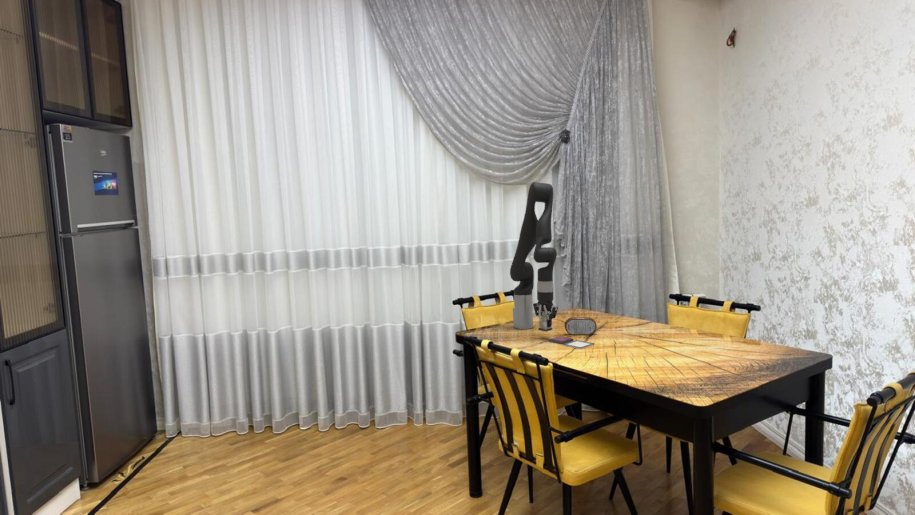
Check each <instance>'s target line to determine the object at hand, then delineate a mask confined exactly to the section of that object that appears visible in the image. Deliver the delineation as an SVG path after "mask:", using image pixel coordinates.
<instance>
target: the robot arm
mask: <svg viewBox="0 0 915 515" xmlns="http://www.w3.org/2000/svg"><path fill="white" fill-rule="evenodd" d="M536 203H542V204H544V208H543V212H542V213H541V215H540V217H539V218H538V216H537V214H536V211H535V209H536ZM553 205H554V186H553V185H552V184H550V183H547V182H546V183H544V182H537V181H534V182H532V183H531V184H530V185H529V188H528V192H527V199H526V206H525V211H524V215H523V221H522V224H521V226H520V227H521V229H520V232H519V239H518V243H517V245H516V246H517V247H516V250H515V253H514V256H513V260H512V261H511V265H510V268H509V276H510V279H511V280H512V281H514V282H519V284H518V285H517V286H516V287H515V288H514V289H513V301H514V302H513V303H514V307H513V308H512V320H513V321H512V323H513V325H512V326H513V328H515V329H519V330H527V329H528V330H529V329H533V328H534V314H535V316H536V317H538V318H539V316H540V315H542V312H543V311H544V312H545V314H546V315H547V327H552V326H553V321H552V320H553V319H556V316H557V313H558V310H559V306H556V305H554V303H553V301H554V278H553V277H554V268H555V263H556V259H557V256H558V254H557V250H556V249H555V248H554V247H543V246H544V245H548V244H550V243H552V240H553V235H552V234H553V233H552V216H553ZM533 249H534V252H533V256H532V257H533V260H534V261H535V263H538V264H539V263H542V264H545V263H548V264H547V265H546V266H544V267H539V268H538V269H537V283H536V284H537V285H536V299H537V302H533V289H534V285H535V283H534V282H535V281H534V280H535V270H534V267H533V265H532V263H530V262H528V261H527V258H528V256H529V254H530V253H531V252H532V250H533ZM533 311H534V312H533ZM549 315H550V317H549Z"/></svg>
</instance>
